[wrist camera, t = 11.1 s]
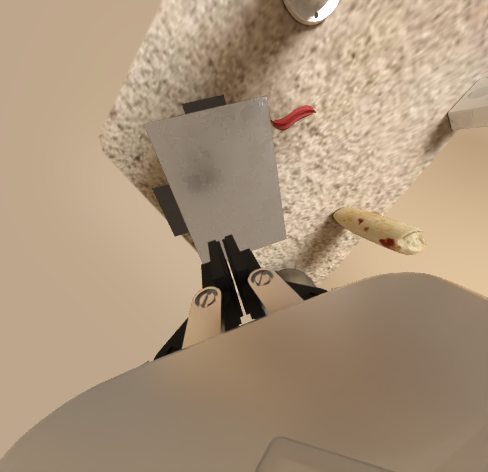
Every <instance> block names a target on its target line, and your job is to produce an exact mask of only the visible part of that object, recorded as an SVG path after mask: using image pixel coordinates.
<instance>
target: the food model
mask: <svg viewBox="0 0 488 472" xmlns="http://www.w3.org/2000/svg"><path fill="white" fill-rule="evenodd" d="M333 217H334V219H335V220H336V221H337V222H338V223H339V224H340V225H341V226H343V227H344V228H346V229H348V230H349V231H351V232H352V233H354V234H356V235H358V236H360V237H363V238H365V239H367V240H369V241H372V242H374V243H376V244H379V245H381V246H383V247H386V248H388V249H391V250H393V251H396V252H398V253H402V254H406V255H414V254H417V253H418V252H420V251H422V250H423V249H424V248H425V246H426V242H425V239H424V238H423V237H422V236H421V235H420V234H419V233H418V232H422V230H420V229H418V228H417V227H414V226H411V225H408V224H404V223H401V222H399V221H396V220H393V219H390V218H387V217H384V216H381V215H378V214H374V213H371V212H367V211H363V210H360V209H356V208H352V207H343V208H341V209H339V210H338V211H336V212H335V213H334V215H333Z"/></svg>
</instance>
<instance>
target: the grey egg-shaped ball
mask: <svg viewBox="0 0 488 472" xmlns="http://www.w3.org/2000/svg"><path fill="white" fill-rule="evenodd" d="M277 274H278V275H279V276H280V277H281V278H282V279H283V280H284V281H288V282H293V283H298V284H302V285H307V286H312V287H316V286H315V284H314V282H313V281H312V279H311V278H310V277H308V276H307V275H306V274H305V273H303V272H301V271H299V270H296V269H284V270H281V271H279V272H277Z"/></svg>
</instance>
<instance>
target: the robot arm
mask: <svg viewBox="0 0 488 472" xmlns="http://www.w3.org/2000/svg"><path fill="white" fill-rule="evenodd" d="M283 1H284V4H285V5H286V7H287V9H288V11H289V12H290V14H291V15H292V16H293V17H294V18H295V19H296V20H297V21H298V22H300V23H302V24H305V25H316V24H318V23H321V22H322V21H323V20H325V19H326V18H327V17H328V16H329V15H330V14H331V13H332V11H333V10H334V9H335V7H336V6H337V4H338V2H339V0H283ZM224 238H225V239H223V240H222V242H223V245H224V248H225V251H226V255H227V258H228V261H229V264H230V267H231V270H232V273H233V276H234V279H235V282H236V285H237V288H238V291H239V294H240V297H241V300H242V303H243V306H244V309H245V312H246V314H250V315H251V318H252V319H256V320H254V321H251V322H248V323H246V324H244V325H241V326H239V324H241V319H240V317H242V316H243V313H242V310H241V306H240V303H239V299H238V296H237V293H236V289H235V286H234V283H233V280H232V276H231V273H230V270H229V267H228V264H227V261H226V259H225V256H224V253H223V250H222V247H221V244H220V241H217V242H216V240H213V241H210V242H208V249H209V256H210V262H207V263H204V264H202V265H201V269H202V285H203V286H202V288H203V289H202V290H201V291H199V292H198V293H197V294H196V295H195V296H194V297H193V300H192V304H191V308H190V313H189V317H188V318H187V319H186V321H185V322H184V323H183V324H182V325H181V326H180V328H179V329H178V330H177V331H176V332H175V334H174V335H173V336H172V337H171V338H170V339H169V340H168V342H167V343H166V344H165V345H164V346H163V347H162V349H161V350H160V351H159V352H158V354H157V355H156V356H155V358H154V360H153V361H151V362H149V361H147V362H146V363H144V364H142V365H141V366H139V367H137V368H134V369H132V370H129V371H127V372H125V373H123V374H120V375H118V376H116V377H114V378H111V379H109V380H107V381H105V382H102V383H100V384H98V385H96V386H94V387H92V388H91V389H88V390H87V391H85V392H83V393H81V394H79V395H78V396H76V397H74V398H73V399H71V400H69V401H68V402H66V403H65V404H63V405H62V406H60V407H59V408H57V409H56V410H55V411H53V412H52V413H51V414H49V415H48V416H46V417H45V418H44V419H42V420H41V421H40V422H38V423H37V424H36V425H35V426H34V427H32V428H31V429H30V430H29V431H28V432H27V433H26V434H24V435H23V436H22V437H21V438H20V439H19V440H18V441H17V442H16V443H15V444H14V445H13V446H12V447H11V448H10V449H9V450H8V451H7V452H6V453H5V455H4V456H3V457H2V458H1V460H0V472H488V298H487V297H485V296H483V295H481V294H479V293H476V292H474V291H472V290H470V289H467V288H465V287H463V286H460V285H458V284H456V283H453V282H451V281H448V280H445V279H442V278H440V277H436V276H433V275H430V274H425V273H415V272H402V273H388V274H383V275H376V276H373V277H369V278H365V279H362V280H359V281H356V282H353V283H350V284H347V285H344V286H341V287H338V288H332V289H331V291H327V290H324V289H321V288H317V287H312V286H307V285H302V284H298V283H293V282H288V281H284V280H283V279H282V278H281V277H280V276H279V275H278V274H277V273H276V272H275V271H273V270H272V269H269V268H261V267H260V265H259V264H258V262H257V260H256V259H255V257H254V255H253V253H252V252H251V250H250V249H249V248H248V249H245V250H243V251H240V250H239V248H238V246H237V244H236V242H235V240H234V237H233V235H232V234H231V235H228V236H225V237H224Z"/></svg>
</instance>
